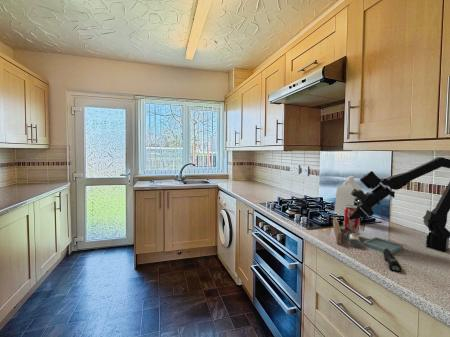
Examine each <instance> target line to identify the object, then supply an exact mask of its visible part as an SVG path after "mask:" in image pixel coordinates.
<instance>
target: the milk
mask: <svg viewBox="0 0 450 337" xmlns="http://www.w3.org/2000/svg"><path fill="white" fill-rule="evenodd" d="M353 189H357V190H361V191H363V189H362V187H361V186H360V185H359V184H358V183H357V182H356V181H355V176H353V175H350V176H346V180H345V181H344V182H342V184H340V185H339V186H338V187H337V188H336V195H335V196H336V197H335V202H334V204H335V205H334V211H333V212H334V213H333V215H334V214H337V215H342V216H344V209H345V207H346V205H354V201H355V200H354V199H355V198H356V197H354V196H352V194H351V193H352V191H353ZM355 202H356V201H355Z"/></svg>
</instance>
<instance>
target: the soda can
mask: <svg viewBox="0 0 450 337" xmlns="http://www.w3.org/2000/svg"><path fill="white" fill-rule="evenodd" d="M356 210H357V206H354V205H346V207H345V209H344V222H343V221H342V227H343V226H344V227H343V230H344V229H345V230H346V231H348V233H350V232H355V233H357V232H359V231H360V226H361V221H360V218H356V219H352V220H350V219H349V217H350V216H351V215H352V214H353V213H354V212H355V211H356Z"/></svg>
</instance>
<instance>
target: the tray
mask: <svg viewBox="0 0 450 337" xmlns="http://www.w3.org/2000/svg"><path fill="white" fill-rule="evenodd" d="M362 246H364V247H367V248H369V249H373V250H376V251H378V252H382V253H383V252H384V250H385V249H389V251H390V252H391V254H392V255H393V254H396V253H398V252H400V251H401V250H403V249H404V245H403V244H400V243H397V242H393V241H390V240H386V239H382V238H380V237H376V236H375V237H373V238H370V239H367V240H365V241H362Z"/></svg>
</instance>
